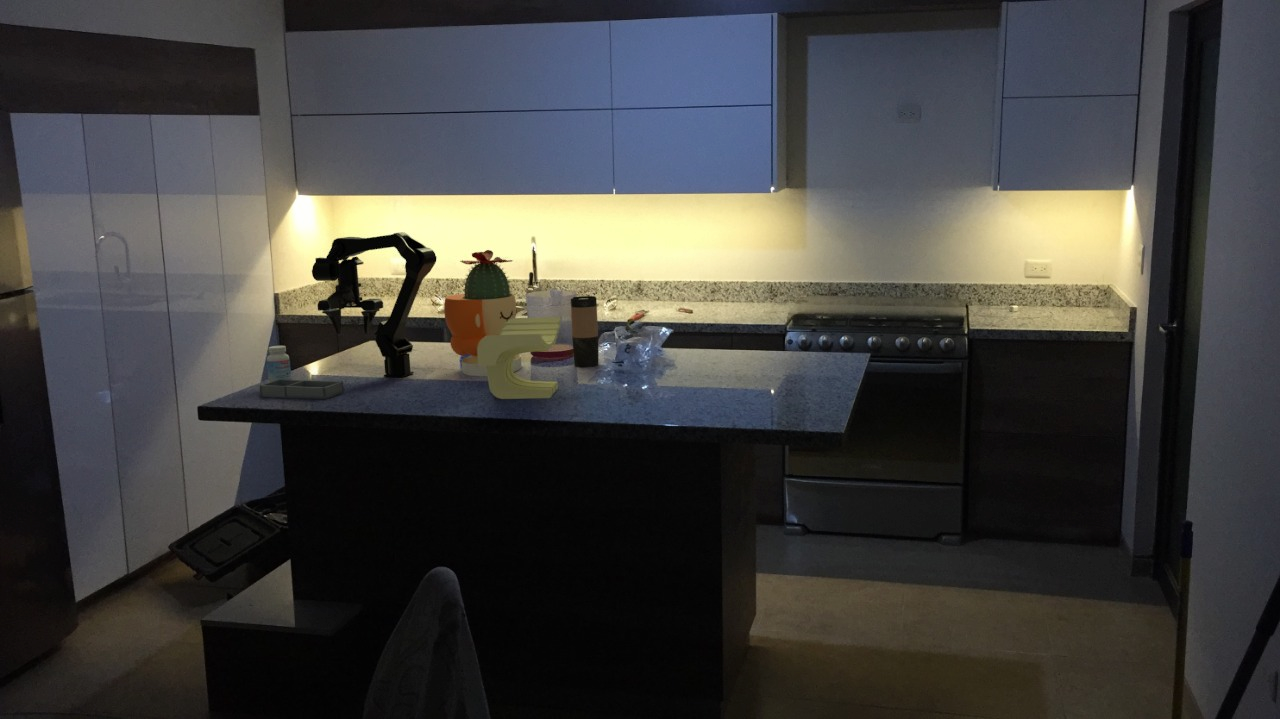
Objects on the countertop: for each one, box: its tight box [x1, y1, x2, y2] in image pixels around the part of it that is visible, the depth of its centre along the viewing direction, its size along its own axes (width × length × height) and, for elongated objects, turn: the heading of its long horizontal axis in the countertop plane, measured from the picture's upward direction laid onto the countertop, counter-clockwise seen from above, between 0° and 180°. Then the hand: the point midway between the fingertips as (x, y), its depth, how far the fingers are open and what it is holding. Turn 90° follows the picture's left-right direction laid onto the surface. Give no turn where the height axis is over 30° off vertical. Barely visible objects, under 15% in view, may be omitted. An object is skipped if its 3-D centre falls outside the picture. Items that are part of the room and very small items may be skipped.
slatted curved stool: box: [477, 316, 562, 400], centre depth 285 cm, size 30×16×18 cm, turn 175°
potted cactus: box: [443, 249, 523, 377], centre depth 321 cm, size 22×22×35 cm
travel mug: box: [570, 295, 599, 368], centre depth 323 cm, size 8×8×20 cm
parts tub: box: [259, 379, 345, 400], centre depth 295 cm, size 20×8×3 cm, turn 71°
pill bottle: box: [266, 345, 292, 383], centre depth 308 cm, size 6×6×11 cm
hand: (352, 333), depth 321 cm, fingers open, 9 cm apart
